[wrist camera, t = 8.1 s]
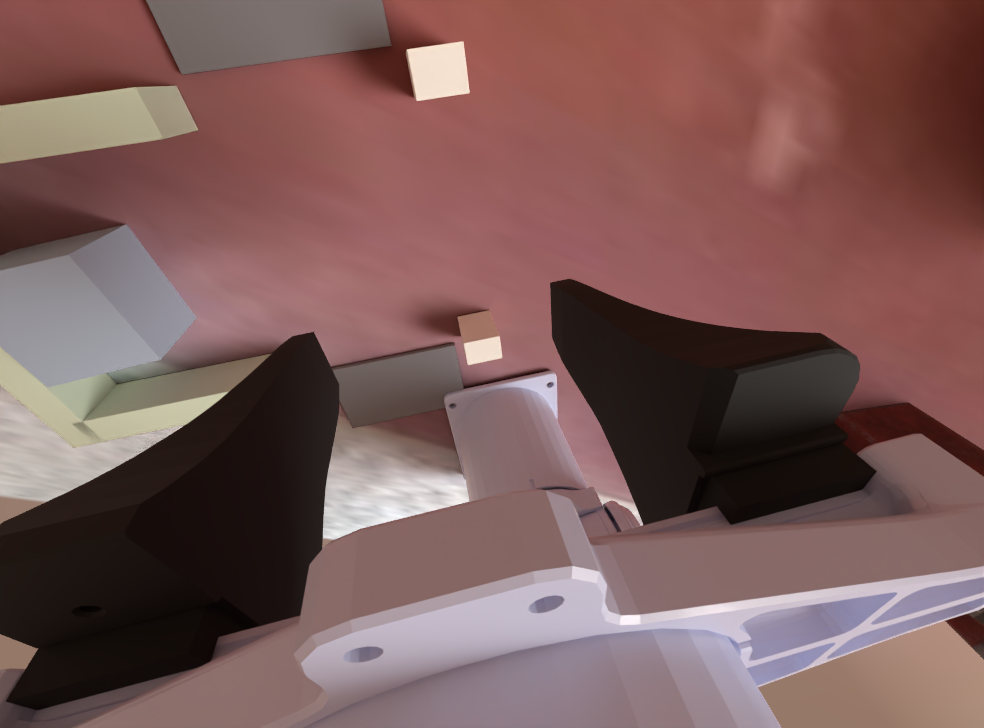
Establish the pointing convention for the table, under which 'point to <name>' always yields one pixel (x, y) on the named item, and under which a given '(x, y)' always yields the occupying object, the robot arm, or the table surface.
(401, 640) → the robot arm
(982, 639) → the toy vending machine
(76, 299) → the block
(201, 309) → the table surface
